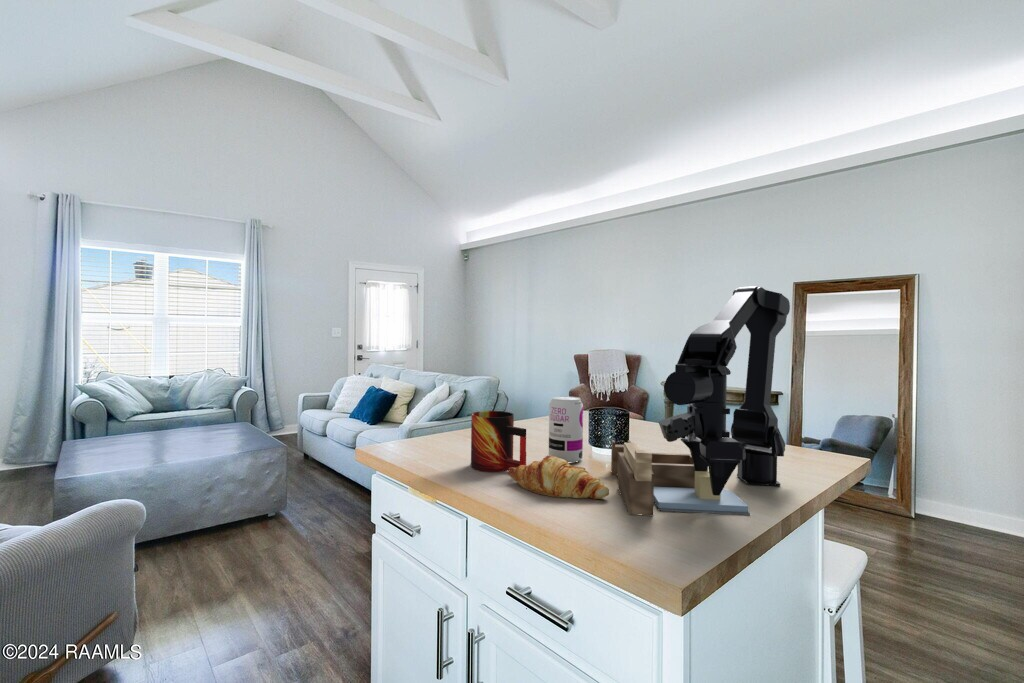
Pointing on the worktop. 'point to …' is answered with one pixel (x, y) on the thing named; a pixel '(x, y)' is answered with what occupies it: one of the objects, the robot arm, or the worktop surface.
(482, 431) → the mug
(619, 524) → the worktop surface
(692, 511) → the mat
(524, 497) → the worktop surface
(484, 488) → the worktop surface
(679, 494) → the lid
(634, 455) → the beige block
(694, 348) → the robot arm
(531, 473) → the croissant
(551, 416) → the supplement can
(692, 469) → the brown wooden box
